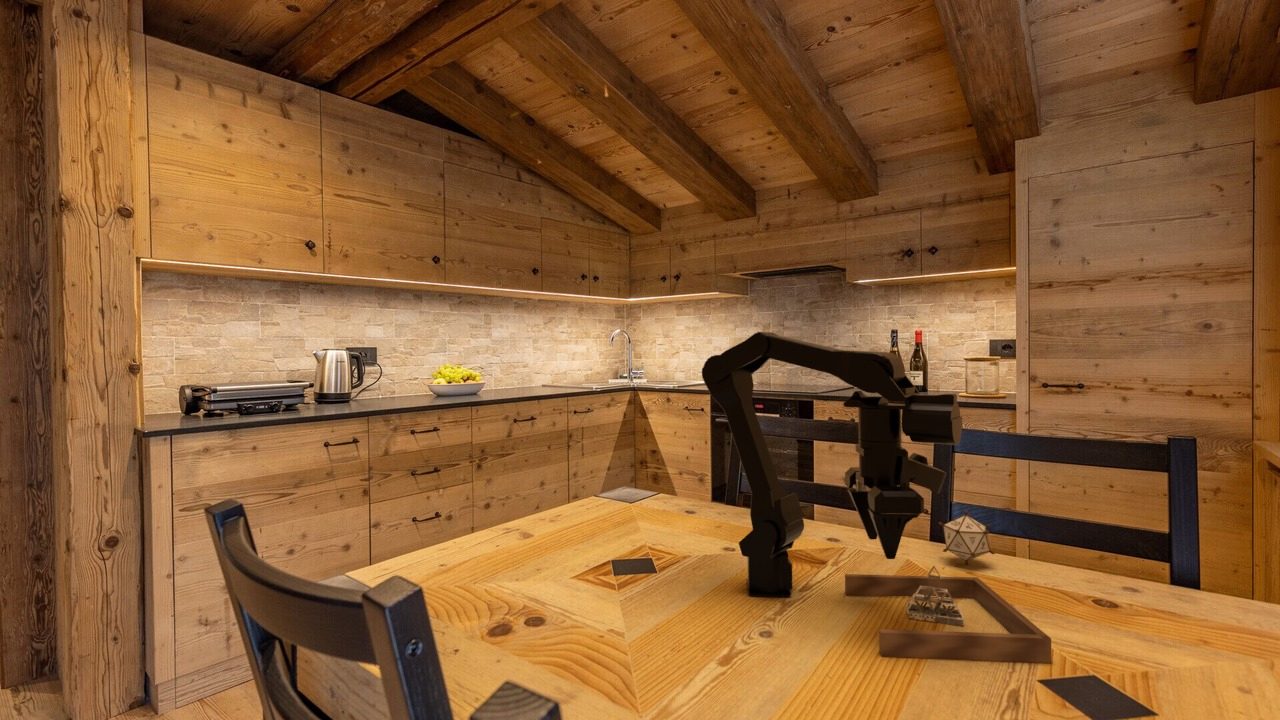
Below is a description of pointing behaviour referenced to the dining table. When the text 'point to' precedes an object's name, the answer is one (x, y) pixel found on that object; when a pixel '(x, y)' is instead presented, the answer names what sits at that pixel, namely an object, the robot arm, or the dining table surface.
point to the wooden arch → (1013, 647)
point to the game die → (966, 538)
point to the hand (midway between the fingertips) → (881, 548)
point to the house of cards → (930, 612)
